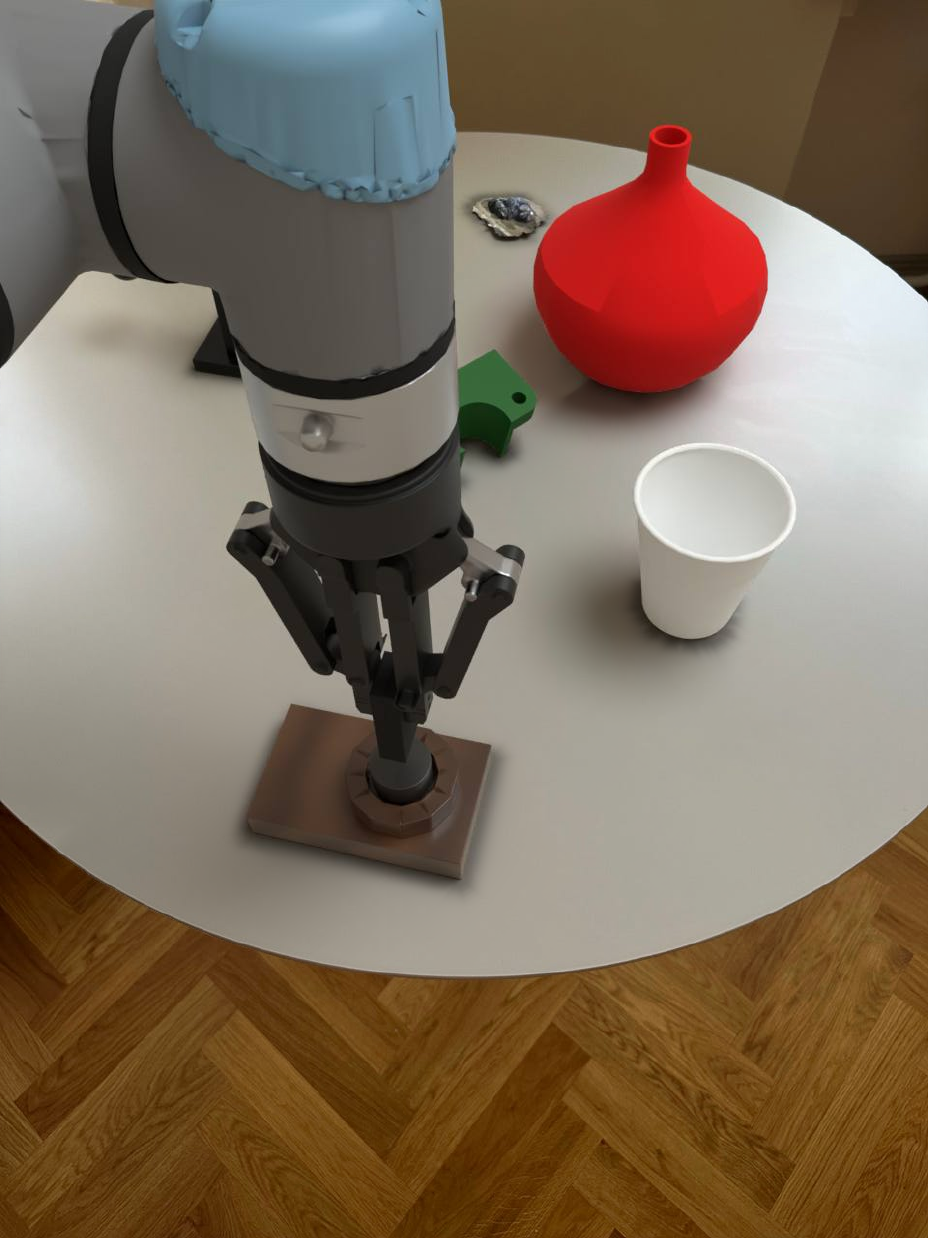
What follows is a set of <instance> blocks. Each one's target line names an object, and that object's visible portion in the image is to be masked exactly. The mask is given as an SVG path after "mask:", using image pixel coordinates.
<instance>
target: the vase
mask: <svg viewBox="0 0 928 1238" xmlns="http://www.w3.org/2000/svg"><path fill="white" fill-rule="evenodd" d="M692 138H693V136H692V134H691V132H690V131H689V130H688V129H687V128H685V127H682V126H679V125H672V124H664V125H659V126H656V127H654V128H653V129H652V130H651V131H650V132H649V138H648V144H647V152H646V159H645V165H644V168H643V172H641V173H640V174H639V175H638V176H637V177H636V178H635V179H633V180H631V181H629V182H627V183H624V184H622V185H620V186H617V187H616V188H613V189H612V190H609V191H607V192H606V191H605V192H604V193H601V194H599V195H596V196H593V197H591V198H589V199H586V200H584V201H582V202H579V203H577V204H575V205H572V206H571V207H569V208H568V209H567V210H565V211H564V212H563V213H562V214H560V215H559V216H558V217H556V218H555V219H554V220H553V222H552V223H551V225H550V226H549V228H548V229H547V230H546V232H545V233H544V235H543V237H542V239H541V240H540V243H539V245H538V247H537V251H536V254H535V259H534V262H533V269H532V270H533V274H532V290H533V297H534V301H535V307H536V309H537V311H538V314H539V316H540V318H541V320H542V323H543V325H544V328H545V329H546V332H547V334H548V337H549V338H550V339H551V341H552V343H553V344H554V346H555V347H556V349H557V351H558V352H559V353H560V354H561V355H562V356H563V357H564V358H565V359H566V360H567V361H569V363H570V364H571V365H573V367H575V368H576V369H577V370H578V371H579V372H581V374H583V376H585V377H587V378H589V379H591V380H593V381H595V382H597V383H599V384H601V385H603V386H607V387H610V388H613V389H617V390H620V391H626V392H632V393H633V392H634V393H643V394H644V393H645V394H646V393H657V392H658V393H660V392H667V391H670V390H675V389H678V388H683V387H685V386H687V385H689V384H690V383H693V382H695V381H697V380H699V379H701V378H702V377H704V376H707V374H708V375H709V373H711V372H713V371H715V370H717V369H718V368H719V367H720V366H721V365H722V364H723V363H725V361H727V360H728V359H729V358H730V357H731V356H732V355H733V354H734V353H735V351H736V350H737V349H738V348H739V347H740V345H741V344H742V343H743V342H744V341H745V339H747V337H748V336H749V335H750V334H751V333H752V332H753V330H754V328H755V326H756V324H757V322H758V320H759V318H760V315H761V314H762V311H763V307H764V303H765V300H766V296H767V295H768V294H767V293H768V291H769V290H768V289H769V268H768V263H767V255H766V253H765V250H764V248H763V245H762V243H761V241H760V239H759V237H758V235H756V234H755V233H754V231H753V230H752V229H751V228H750V226H748V224H747V223H746V222H745V221H743V220H742V219H740V218H739V217H737V216H736V215H735V214H733V213H731V212H730V211H729V210H727V209H726V208H725V207H722V206H721V205H720V204H719V203H716V202H715V201H714V200H712V199H711V198H710V197H709V196H707V195H706V194H705V193H704V192H702V191H701V190H699V189H698V188H697V187H696V186H694V185H693V184H692V182H691V180H690V179H689V178H688V174H687V173H688V172H687V171H688V170H687V167H688V161H689V157H690V151H691V145H692Z"/></svg>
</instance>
